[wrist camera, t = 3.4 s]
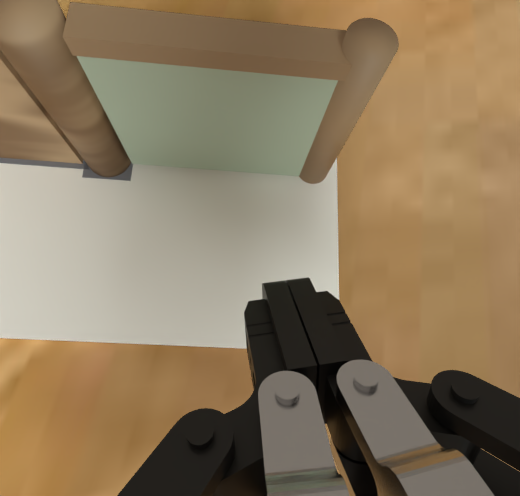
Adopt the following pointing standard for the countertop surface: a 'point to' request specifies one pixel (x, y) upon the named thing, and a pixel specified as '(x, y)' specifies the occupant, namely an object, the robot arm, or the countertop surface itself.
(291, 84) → the swing panel
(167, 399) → the countertop surface
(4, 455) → the countertop surface
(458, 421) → the robot arm
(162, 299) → the card
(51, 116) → the fixed fence
